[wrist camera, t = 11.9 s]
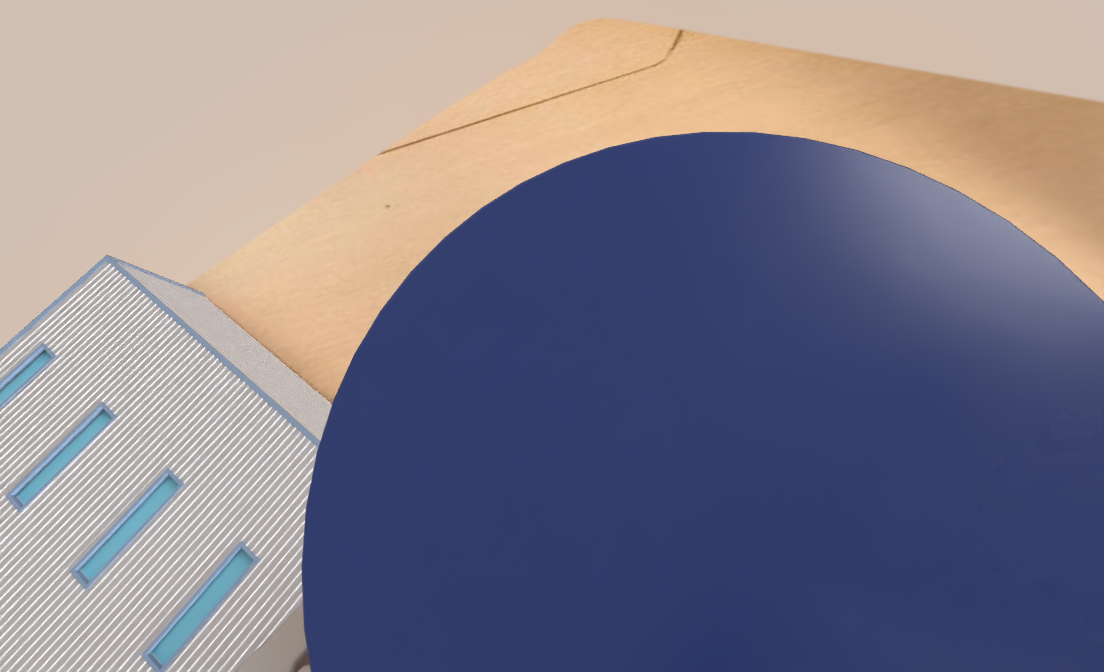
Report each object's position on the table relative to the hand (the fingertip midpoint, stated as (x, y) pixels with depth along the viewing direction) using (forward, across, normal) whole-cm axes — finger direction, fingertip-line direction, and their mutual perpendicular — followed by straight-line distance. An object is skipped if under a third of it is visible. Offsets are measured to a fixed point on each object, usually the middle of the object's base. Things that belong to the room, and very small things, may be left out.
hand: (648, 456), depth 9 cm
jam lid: (-4, 0, -3) cm, 5 cm away
